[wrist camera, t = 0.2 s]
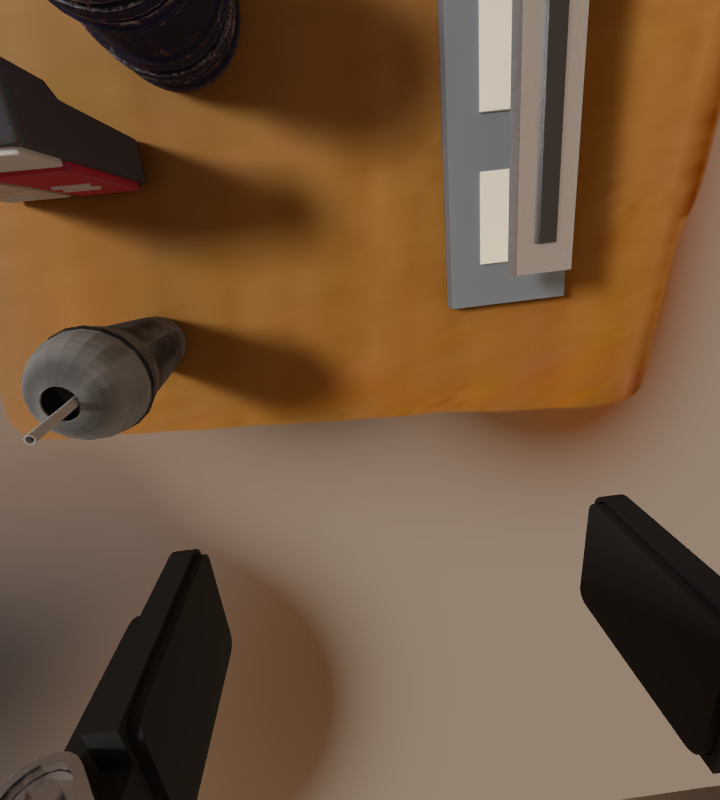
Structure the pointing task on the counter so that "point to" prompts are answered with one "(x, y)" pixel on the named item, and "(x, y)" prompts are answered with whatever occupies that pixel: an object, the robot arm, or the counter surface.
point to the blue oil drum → (164, 37)
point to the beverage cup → (100, 377)
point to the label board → (480, 156)
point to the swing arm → (545, 131)
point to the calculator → (57, 145)
